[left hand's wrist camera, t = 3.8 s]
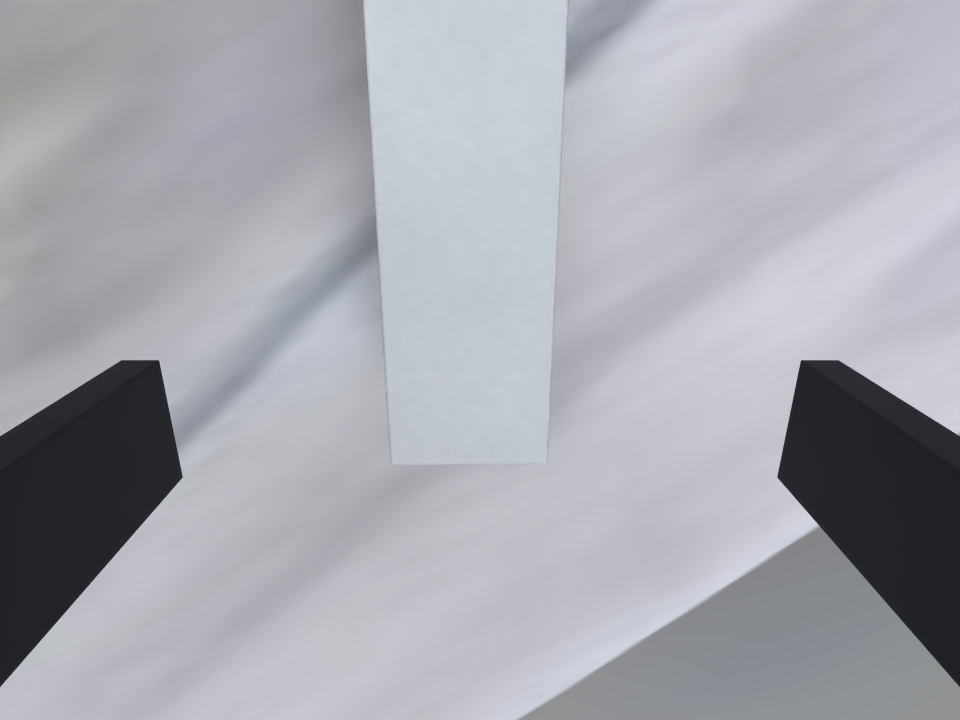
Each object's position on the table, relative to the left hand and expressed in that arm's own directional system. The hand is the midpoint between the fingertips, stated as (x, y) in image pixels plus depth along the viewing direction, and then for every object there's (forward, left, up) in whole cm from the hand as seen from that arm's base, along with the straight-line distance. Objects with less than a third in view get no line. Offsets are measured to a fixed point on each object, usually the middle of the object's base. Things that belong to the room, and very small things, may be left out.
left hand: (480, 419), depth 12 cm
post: (-17, +18, -13) cm, 28 cm away
